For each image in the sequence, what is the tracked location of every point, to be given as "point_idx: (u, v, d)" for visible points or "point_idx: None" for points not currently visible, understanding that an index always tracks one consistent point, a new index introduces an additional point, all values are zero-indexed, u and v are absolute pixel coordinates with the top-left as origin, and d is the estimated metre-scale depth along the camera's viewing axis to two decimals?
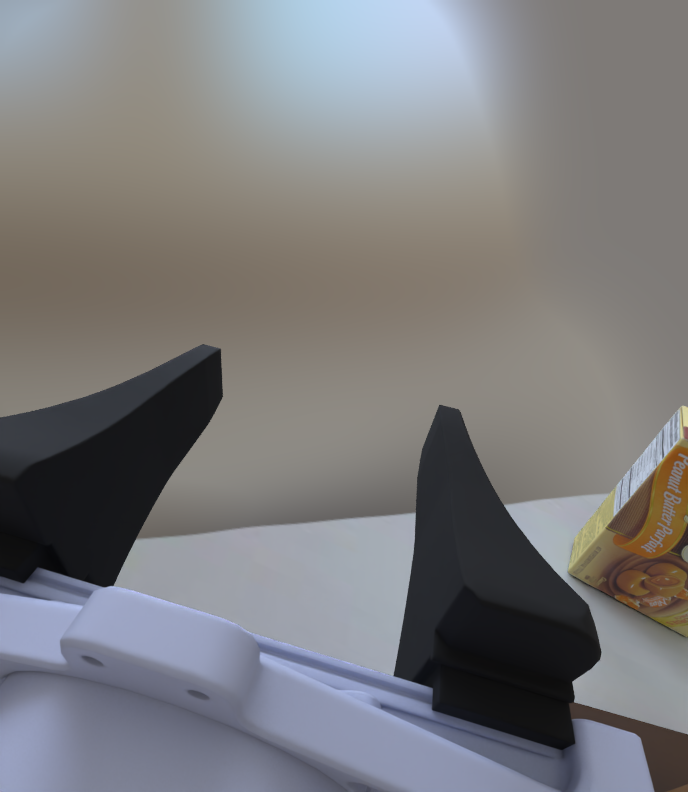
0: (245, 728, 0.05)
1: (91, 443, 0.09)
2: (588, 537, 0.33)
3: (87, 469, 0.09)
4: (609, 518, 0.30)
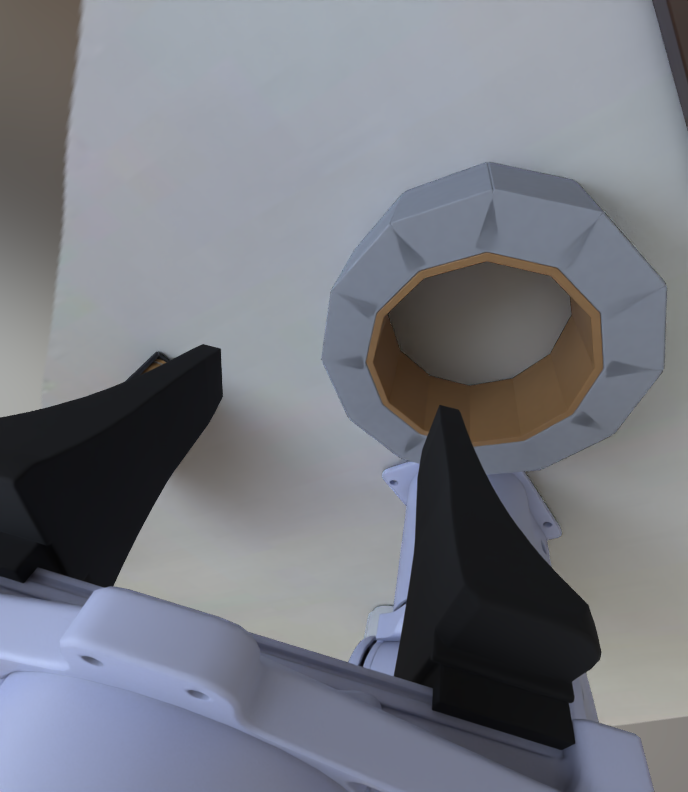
0: (245, 728, 0.05)
1: (91, 443, 0.09)
2: None
3: (87, 469, 0.09)
4: None
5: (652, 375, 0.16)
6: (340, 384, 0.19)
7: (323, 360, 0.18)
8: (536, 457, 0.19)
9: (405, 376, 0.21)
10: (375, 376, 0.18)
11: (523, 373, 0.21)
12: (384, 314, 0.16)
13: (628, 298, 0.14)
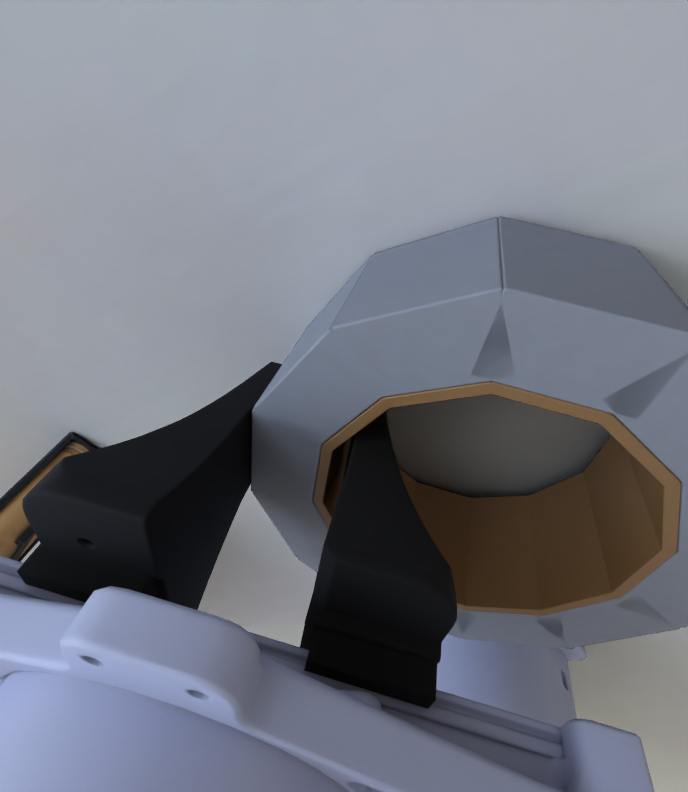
0: (245, 728, 0.05)
1: (197, 473, 0.08)
2: None
3: (192, 499, 0.09)
4: None
5: None
6: (280, 520, 0.13)
7: (254, 491, 0.13)
8: (561, 635, 0.13)
9: None
10: (327, 518, 0.13)
11: (544, 492, 0.15)
12: (333, 447, 0.11)
13: None
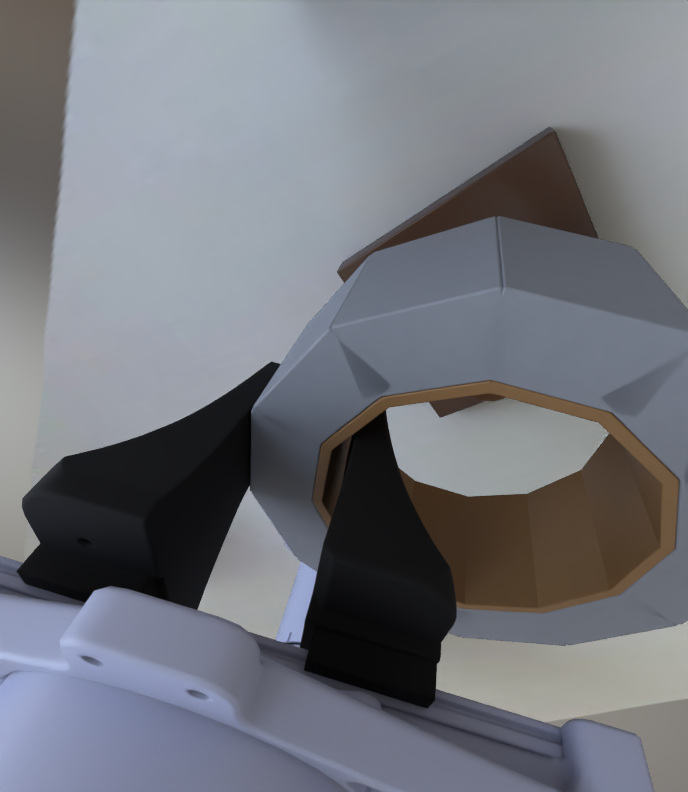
0: (245, 728, 0.05)
1: (197, 473, 0.08)
2: None
3: (192, 499, 0.09)
4: None
5: None
6: (279, 520, 0.13)
7: (252, 491, 0.13)
8: (560, 633, 0.13)
9: None
10: (327, 517, 0.13)
11: (542, 491, 0.15)
12: (332, 447, 0.11)
13: None
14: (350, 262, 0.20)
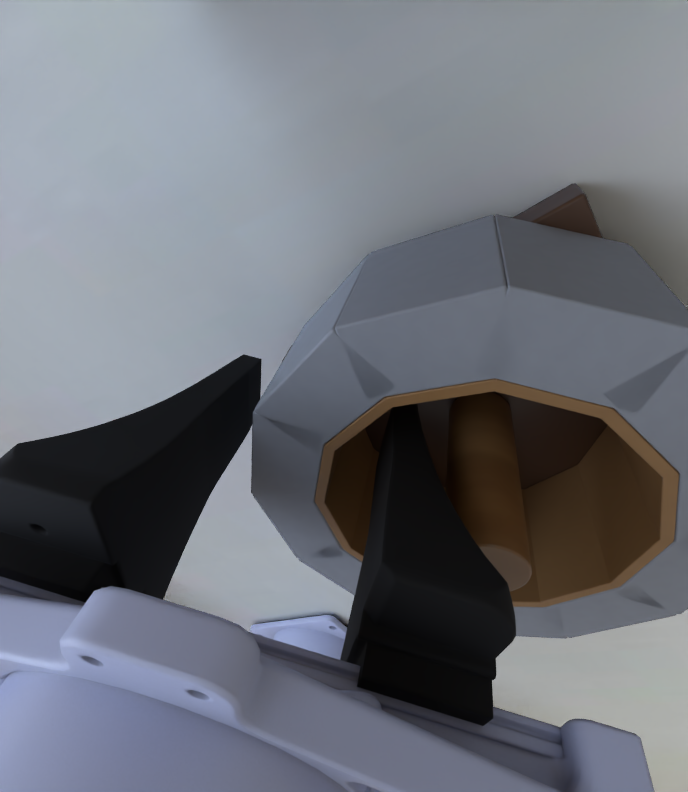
0: (245, 728, 0.05)
1: (153, 460, 0.09)
2: None
3: (149, 487, 0.09)
4: None
5: None
6: (281, 522, 0.13)
7: (254, 493, 0.13)
8: (561, 626, 0.13)
9: None
10: (329, 518, 0.13)
11: (540, 486, 0.16)
12: (335, 447, 0.11)
13: None
14: None
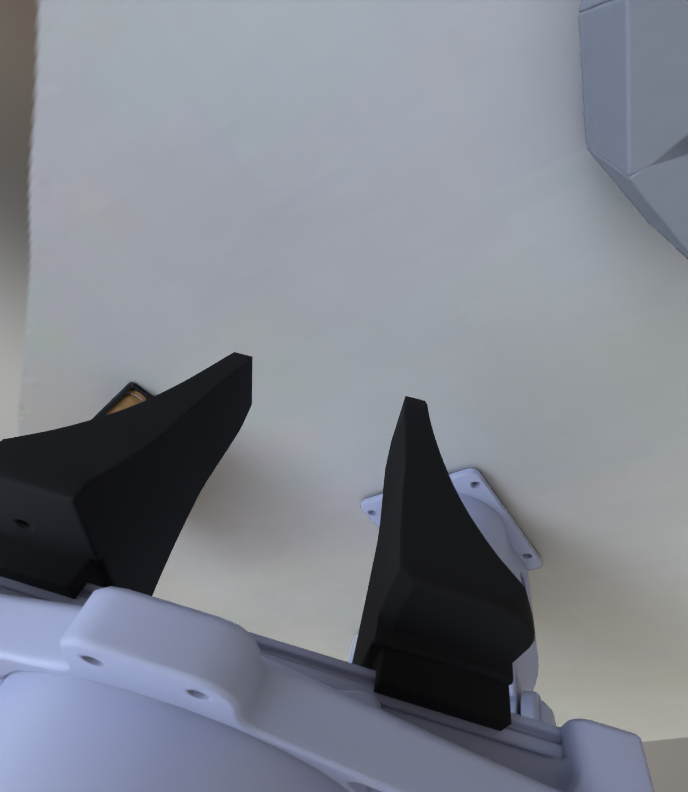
0: (245, 728, 0.05)
1: (139, 456, 0.09)
2: None
3: (135, 482, 0.09)
4: None
5: None
6: (648, 68, 0.09)
7: None
8: None
9: None
10: None
11: None
12: None
13: None
14: None
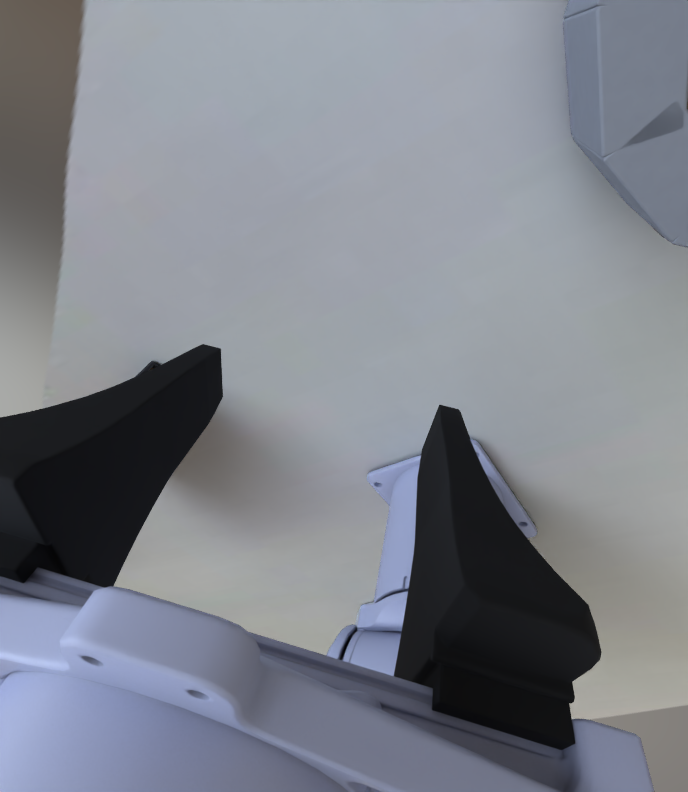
0: (245, 728, 0.05)
1: (91, 443, 0.09)
2: None
3: (87, 469, 0.09)
4: None
5: None
6: (616, 67, 0.10)
7: (601, 3, 0.10)
8: None
9: None
10: None
11: None
12: None
13: None
14: None
